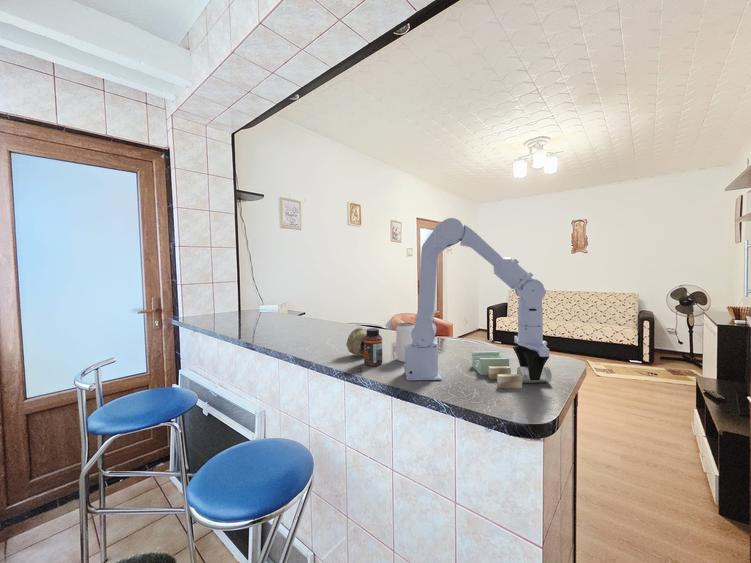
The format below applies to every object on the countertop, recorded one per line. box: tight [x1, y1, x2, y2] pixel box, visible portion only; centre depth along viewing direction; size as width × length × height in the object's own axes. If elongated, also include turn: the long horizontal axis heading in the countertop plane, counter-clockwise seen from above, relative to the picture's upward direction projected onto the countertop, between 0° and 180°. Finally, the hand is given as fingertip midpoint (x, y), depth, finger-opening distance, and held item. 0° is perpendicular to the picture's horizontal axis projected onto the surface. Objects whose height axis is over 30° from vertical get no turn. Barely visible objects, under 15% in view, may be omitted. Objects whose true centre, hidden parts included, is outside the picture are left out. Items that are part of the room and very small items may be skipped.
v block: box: [471, 350, 510, 376], centre depth 90 cm, size 8×8×4 cm
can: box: [395, 322, 415, 363], centre depth 102 cm, size 6×6×12 cm
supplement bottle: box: [363, 327, 383, 367], centre depth 98 cm, size 6×6×11 cm
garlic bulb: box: [345, 326, 367, 358], centre depth 108 cm, size 9×8×10 cm
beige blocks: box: [487, 365, 523, 389], centre depth 80 cm, size 6×8×3 cm
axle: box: [516, 365, 553, 384], centre depth 79 cm, size 7×4×4 cm, turn 89°
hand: (530, 376), depth 79 cm, fingers closed on axle, 4 cm apart
